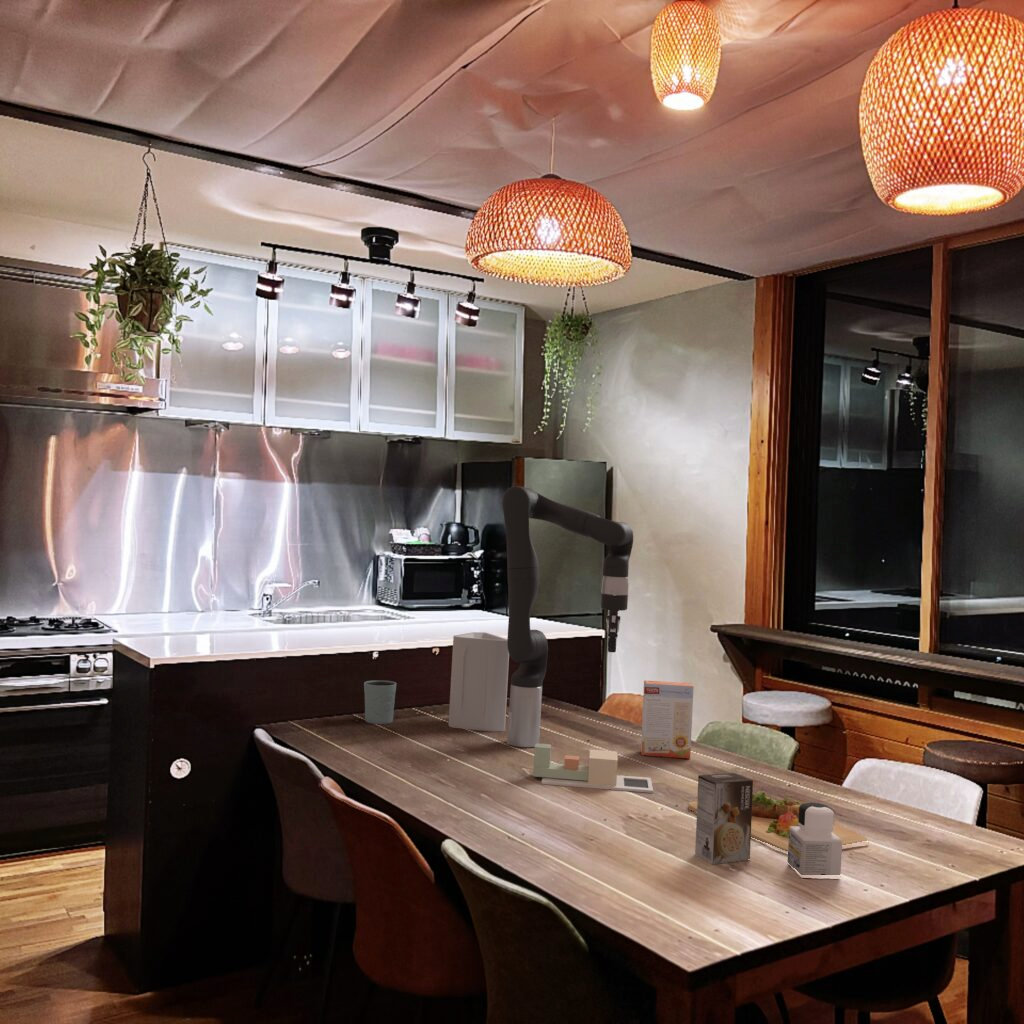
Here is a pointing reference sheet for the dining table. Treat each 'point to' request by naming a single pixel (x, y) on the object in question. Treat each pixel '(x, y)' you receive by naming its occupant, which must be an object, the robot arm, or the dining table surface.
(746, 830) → the coffee box
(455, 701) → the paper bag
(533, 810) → the dining table surface
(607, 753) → the white base plate
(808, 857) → the container
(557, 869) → the dining table surface
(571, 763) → the sage green stepped block
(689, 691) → the cracker box
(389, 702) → the grey green cup
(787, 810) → the cutting board
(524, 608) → the robot arm
